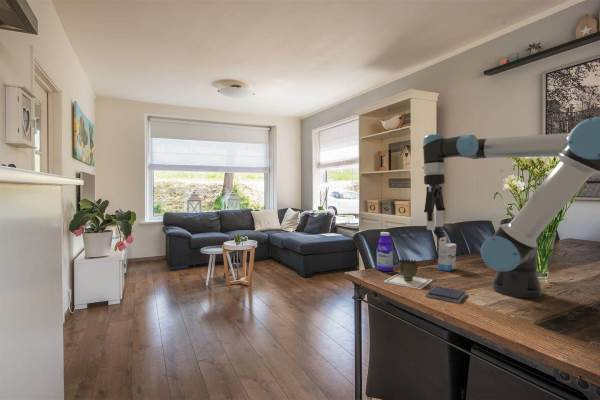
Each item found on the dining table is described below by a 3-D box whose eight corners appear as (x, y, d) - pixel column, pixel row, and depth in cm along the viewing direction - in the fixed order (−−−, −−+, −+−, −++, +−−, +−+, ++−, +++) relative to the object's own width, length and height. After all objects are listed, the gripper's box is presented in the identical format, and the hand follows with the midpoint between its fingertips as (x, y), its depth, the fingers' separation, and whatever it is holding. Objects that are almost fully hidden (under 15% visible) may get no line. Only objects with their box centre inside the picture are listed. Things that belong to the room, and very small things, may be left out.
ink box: (448, 271, 150) (449, 239, 150) (437, 269, 154) (438, 238, 153) (456, 268, 156) (456, 237, 156) (445, 266, 160) (446, 236, 159)
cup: (418, 283, 131) (419, 263, 131) (399, 282, 133) (399, 262, 132) (416, 278, 139) (416, 259, 138) (397, 277, 140) (398, 258, 140)
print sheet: (432, 280, 136) (432, 279, 136) (420, 289, 125) (420, 288, 125) (397, 274, 146) (397, 273, 146) (383, 282, 134) (383, 281, 134)
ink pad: (466, 294, 119) (467, 291, 119) (459, 303, 110) (459, 299, 110) (435, 288, 125) (435, 285, 125) (425, 296, 117) (425, 292, 117)
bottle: (374, 270, 153) (375, 232, 152) (379, 267, 158) (380, 231, 157) (390, 272, 149) (390, 233, 148) (394, 269, 153) (395, 232, 153)
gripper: (432, 176, 144) (433, 225, 144) (414, 173, 123) (416, 230, 124) (451, 174, 139) (452, 225, 139) (436, 172, 119) (437, 231, 119)
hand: (435, 228), depth 131 cm, fingers open, 13 cm apart
